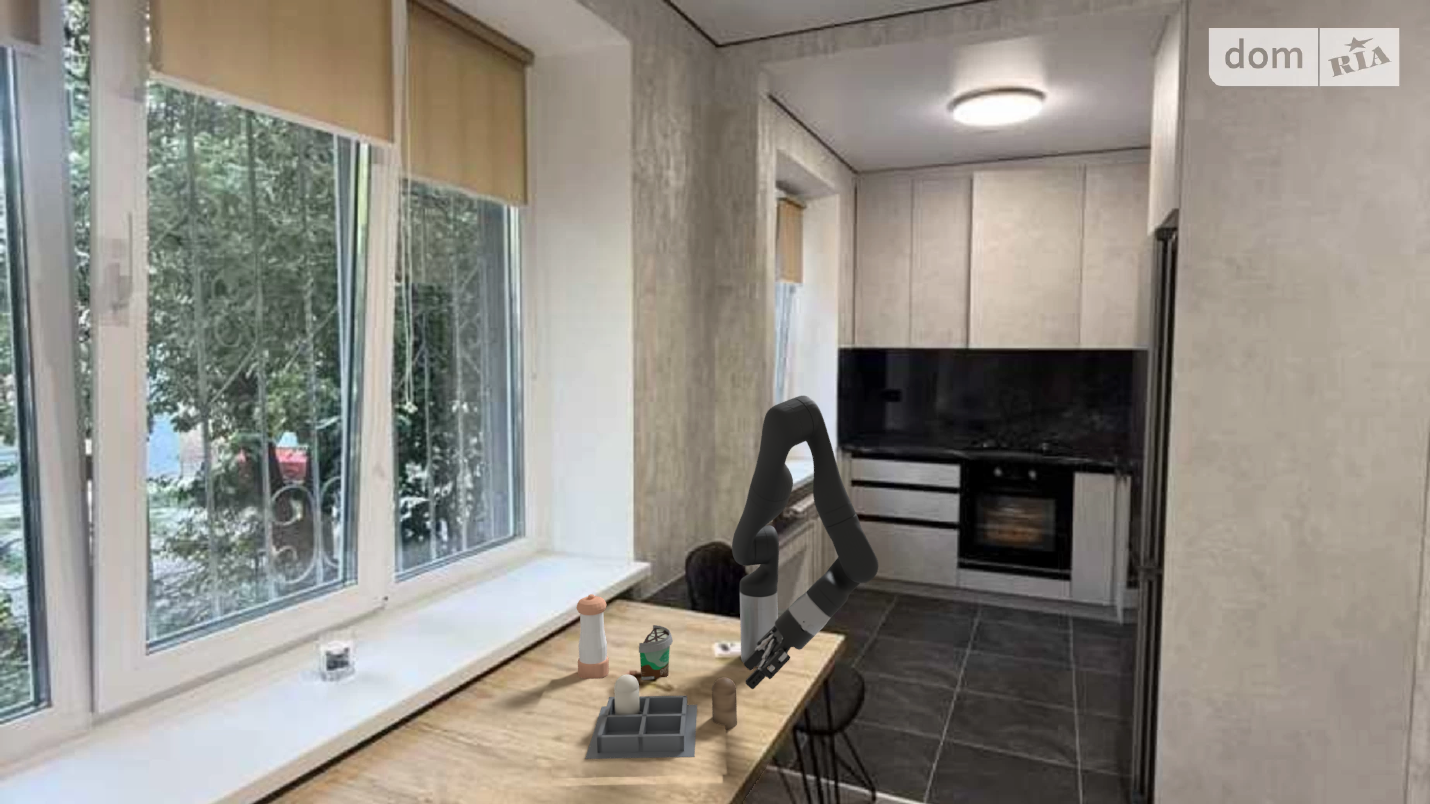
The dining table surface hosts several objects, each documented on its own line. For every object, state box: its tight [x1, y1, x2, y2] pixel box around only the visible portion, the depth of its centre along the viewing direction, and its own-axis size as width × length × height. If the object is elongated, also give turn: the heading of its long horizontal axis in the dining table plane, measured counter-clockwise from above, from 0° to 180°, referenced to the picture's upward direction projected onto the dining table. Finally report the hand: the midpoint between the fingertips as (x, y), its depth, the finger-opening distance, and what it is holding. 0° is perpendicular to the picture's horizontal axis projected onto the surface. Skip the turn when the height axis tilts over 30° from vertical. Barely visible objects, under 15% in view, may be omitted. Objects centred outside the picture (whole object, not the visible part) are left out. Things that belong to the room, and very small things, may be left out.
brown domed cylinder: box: [711, 676, 738, 730], centre depth 153 cm, size 5×5×10 cm
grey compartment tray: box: [584, 695, 698, 760], centre depth 149 cm, size 20×20×4 cm
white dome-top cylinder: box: [613, 673, 640, 715], centre depth 153 cm, size 5×5×10 cm
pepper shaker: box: [576, 593, 610, 680], centre depth 178 cm, size 7×7×19 cm
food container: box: [638, 624, 673, 681], centre depth 176 cm, size 12×6×10 cm, turn 168°
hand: (747, 676), depth 153 cm, fingers open, 8 cm apart
